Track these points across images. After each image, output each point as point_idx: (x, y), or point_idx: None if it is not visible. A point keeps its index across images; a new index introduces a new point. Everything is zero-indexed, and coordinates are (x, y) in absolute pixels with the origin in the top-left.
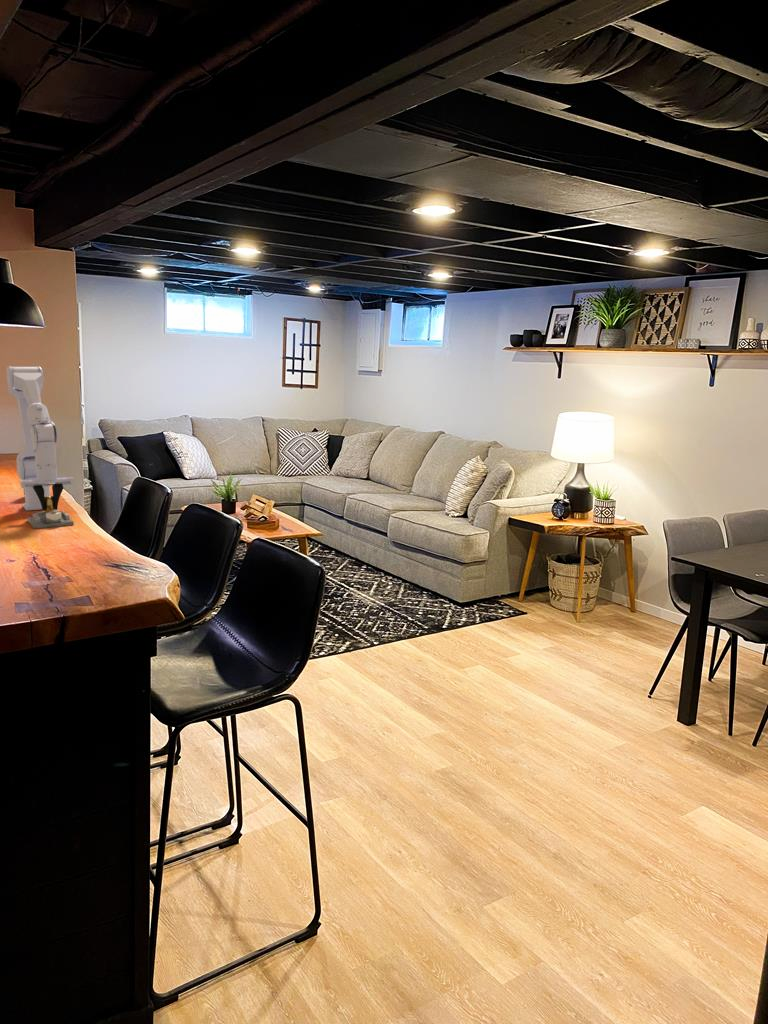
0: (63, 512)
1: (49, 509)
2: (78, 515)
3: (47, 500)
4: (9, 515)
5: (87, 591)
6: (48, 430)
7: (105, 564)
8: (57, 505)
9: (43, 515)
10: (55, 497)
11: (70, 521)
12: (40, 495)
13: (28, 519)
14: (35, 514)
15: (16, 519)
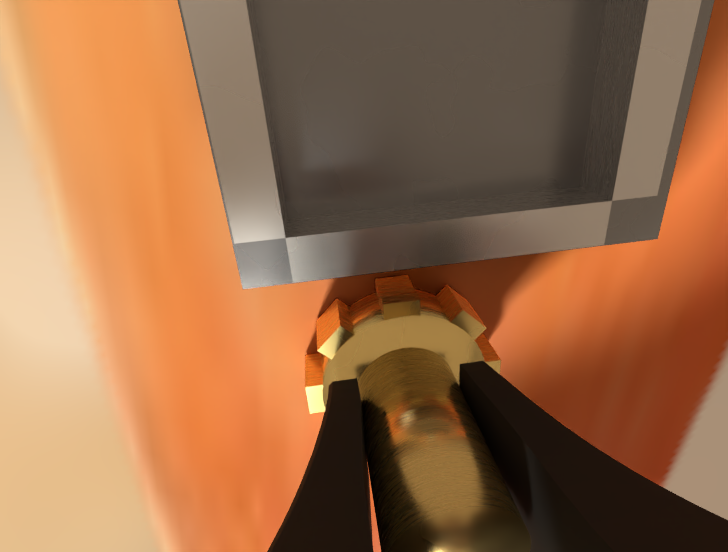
0: (251, 109)
1: (422, 367)
2: (104, 312)
3: (476, 465)
4: (662, 474)
5: None
6: None
7: None
8: (326, 411)
9: (508, 200)
10: (359, 502)
11: None
12: (658, 506)
13: (674, 137)
14: (645, 125)
15: (683, 321)
